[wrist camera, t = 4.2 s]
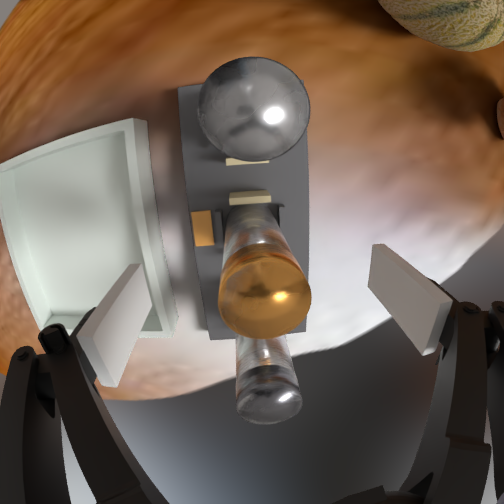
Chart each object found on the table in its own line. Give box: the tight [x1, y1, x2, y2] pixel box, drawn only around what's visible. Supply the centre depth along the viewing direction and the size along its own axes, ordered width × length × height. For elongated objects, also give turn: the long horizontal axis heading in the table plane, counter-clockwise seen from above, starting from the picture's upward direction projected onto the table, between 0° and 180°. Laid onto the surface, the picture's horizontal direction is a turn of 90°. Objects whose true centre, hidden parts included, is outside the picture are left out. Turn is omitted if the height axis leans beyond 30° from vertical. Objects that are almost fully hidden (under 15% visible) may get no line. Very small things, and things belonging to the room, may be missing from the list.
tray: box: [0, 118, 179, 338], centre depth 22 cm, size 18×20×4 cm
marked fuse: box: [218, 203, 311, 339], centre depth 17 cm, size 4×4×12 cm
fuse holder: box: [178, 80, 309, 340], centre depth 22 cm, size 10×24×4 cm, turn 4°
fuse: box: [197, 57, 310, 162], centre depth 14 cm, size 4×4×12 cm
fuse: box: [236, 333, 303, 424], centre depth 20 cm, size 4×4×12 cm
